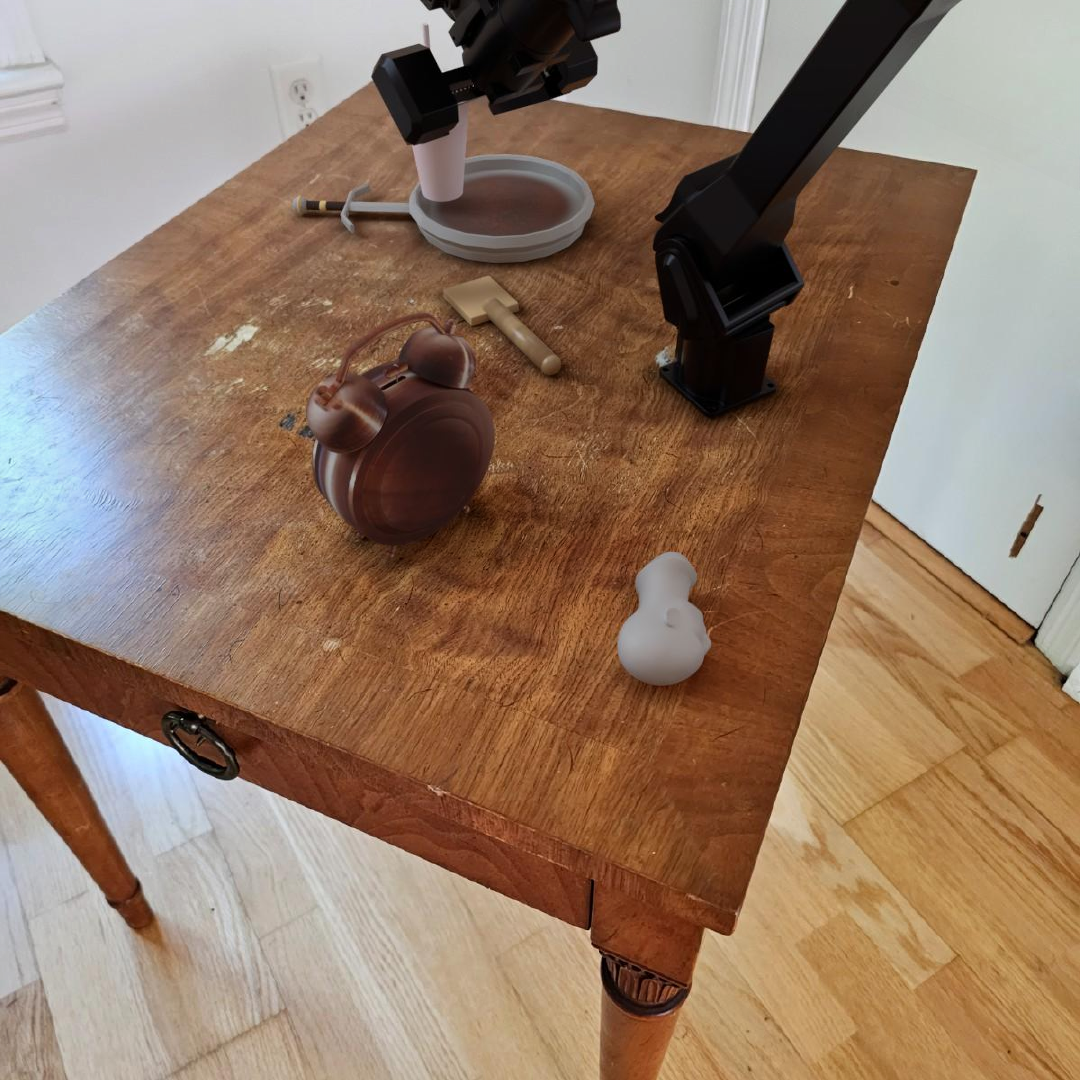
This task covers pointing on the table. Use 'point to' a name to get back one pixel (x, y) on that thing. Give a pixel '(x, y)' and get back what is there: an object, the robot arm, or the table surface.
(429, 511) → the alarm clock
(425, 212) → the frying pan
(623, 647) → the smooth white sculpture
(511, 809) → the table surface
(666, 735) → the table surface
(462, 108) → the smoothie
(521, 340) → the spatula
